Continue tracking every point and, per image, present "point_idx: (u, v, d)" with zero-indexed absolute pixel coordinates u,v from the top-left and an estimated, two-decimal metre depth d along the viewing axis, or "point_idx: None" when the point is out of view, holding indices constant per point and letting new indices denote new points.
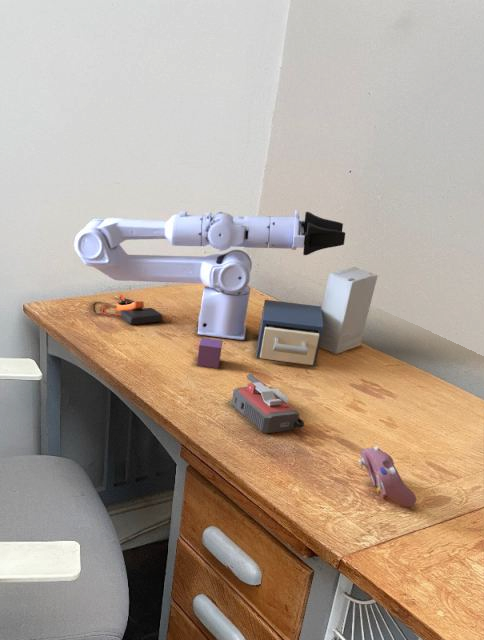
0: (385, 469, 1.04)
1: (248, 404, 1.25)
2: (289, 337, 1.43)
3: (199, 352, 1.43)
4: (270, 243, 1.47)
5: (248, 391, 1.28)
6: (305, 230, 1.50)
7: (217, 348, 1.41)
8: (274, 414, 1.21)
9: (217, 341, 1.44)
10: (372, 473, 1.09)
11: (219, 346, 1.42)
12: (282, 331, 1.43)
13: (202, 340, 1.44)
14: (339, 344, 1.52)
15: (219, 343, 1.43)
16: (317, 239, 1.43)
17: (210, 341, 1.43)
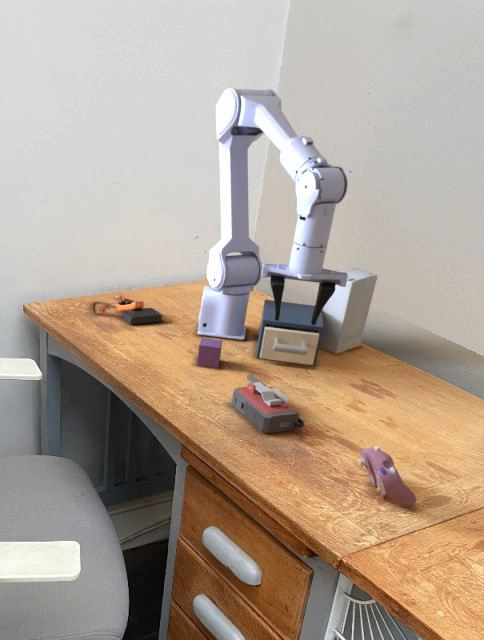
0: (385, 469, 1.04)
1: (248, 404, 1.25)
2: (289, 337, 1.43)
3: (199, 352, 1.43)
4: None
5: (248, 391, 1.28)
6: (320, 284, 1.36)
7: (217, 348, 1.41)
8: (274, 414, 1.21)
9: (217, 341, 1.44)
10: (372, 473, 1.09)
11: (219, 346, 1.42)
12: (282, 331, 1.43)
13: (202, 340, 1.44)
14: (339, 344, 1.52)
15: (219, 343, 1.43)
16: None
17: (210, 341, 1.43)
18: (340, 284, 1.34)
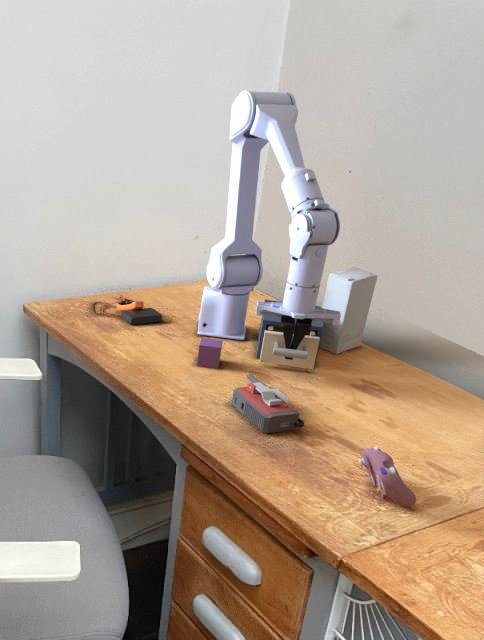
0: (385, 469, 1.04)
1: (248, 404, 1.25)
2: None
3: (199, 352, 1.43)
4: None
5: (248, 391, 1.28)
6: (297, 320, 1.38)
7: (217, 348, 1.41)
8: (274, 414, 1.21)
9: (217, 341, 1.44)
10: (372, 473, 1.09)
11: (219, 346, 1.42)
12: (282, 335, 1.41)
13: (202, 340, 1.44)
14: (339, 344, 1.52)
15: (219, 343, 1.43)
16: None
17: (210, 341, 1.43)
18: (333, 322, 1.36)
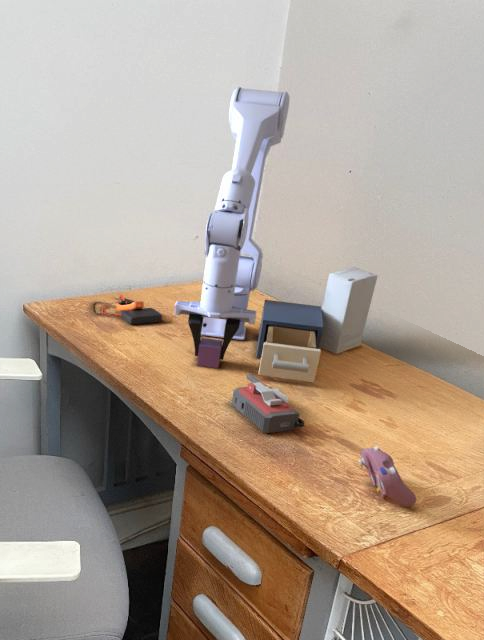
0: (385, 469, 1.04)
1: (248, 404, 1.25)
2: (289, 353, 1.37)
3: (199, 352, 1.42)
4: None
5: (248, 391, 1.28)
6: (226, 321, 1.41)
7: (217, 348, 1.41)
8: (274, 414, 1.21)
9: (217, 341, 1.44)
10: (372, 473, 1.09)
11: (219, 346, 1.42)
12: (282, 347, 1.36)
13: (202, 340, 1.44)
14: (339, 344, 1.52)
15: (219, 343, 1.43)
16: None
17: (210, 341, 1.43)
18: (249, 322, 1.39)
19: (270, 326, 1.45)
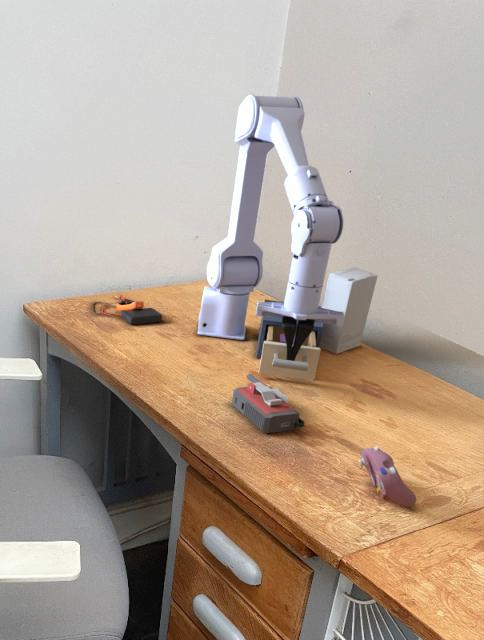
0: (385, 469, 1.04)
1: (248, 404, 1.25)
2: None
3: None
4: None
5: (248, 391, 1.28)
6: (299, 321, 1.33)
7: None
8: (275, 414, 1.21)
9: None
10: (372, 473, 1.09)
11: None
12: (282, 345, 1.37)
13: (282, 336, 1.42)
14: (339, 344, 1.52)
15: None
16: None
17: None
18: (336, 324, 1.31)
19: (270, 325, 1.46)
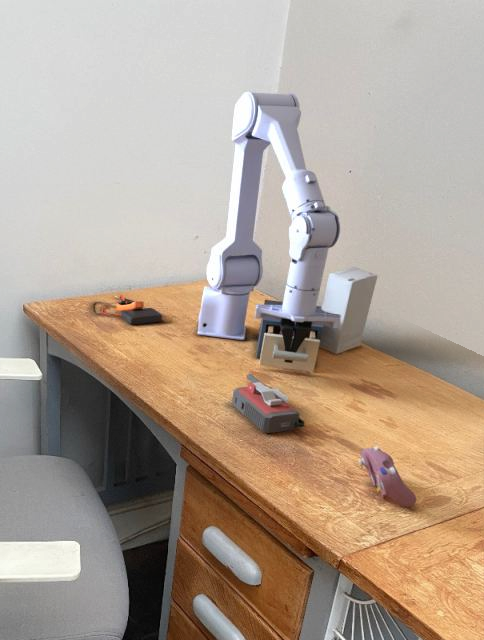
0: (385, 469, 1.04)
1: (248, 404, 1.25)
2: None
3: None
4: None
5: (248, 391, 1.28)
6: (297, 323, 1.37)
7: None
8: (275, 414, 1.21)
9: None
10: (372, 473, 1.09)
11: None
12: (282, 337, 1.40)
13: None
14: (339, 344, 1.52)
15: None
16: None
17: None
18: (333, 326, 1.35)
19: None
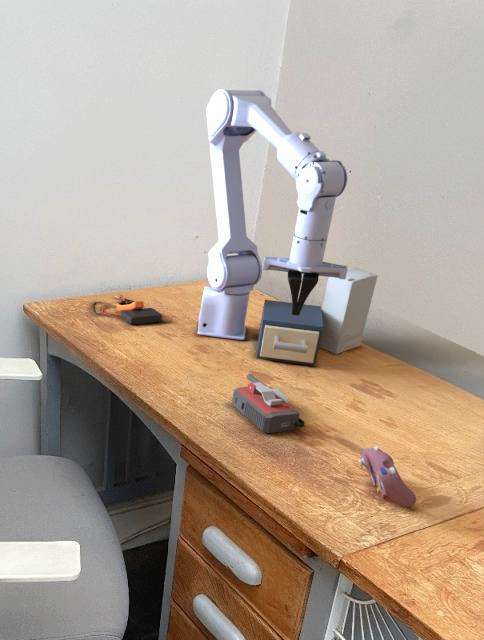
0: (385, 469, 1.04)
1: (248, 404, 1.25)
2: (289, 335, 1.44)
3: None
4: None
5: (248, 391, 1.28)
6: (304, 275, 1.38)
7: (298, 328, 1.47)
8: (275, 414, 1.21)
9: None
10: (372, 473, 1.09)
11: None
12: (282, 329, 1.44)
13: None
14: (339, 344, 1.52)
15: None
16: None
17: None
18: (340, 277, 1.36)
19: None
